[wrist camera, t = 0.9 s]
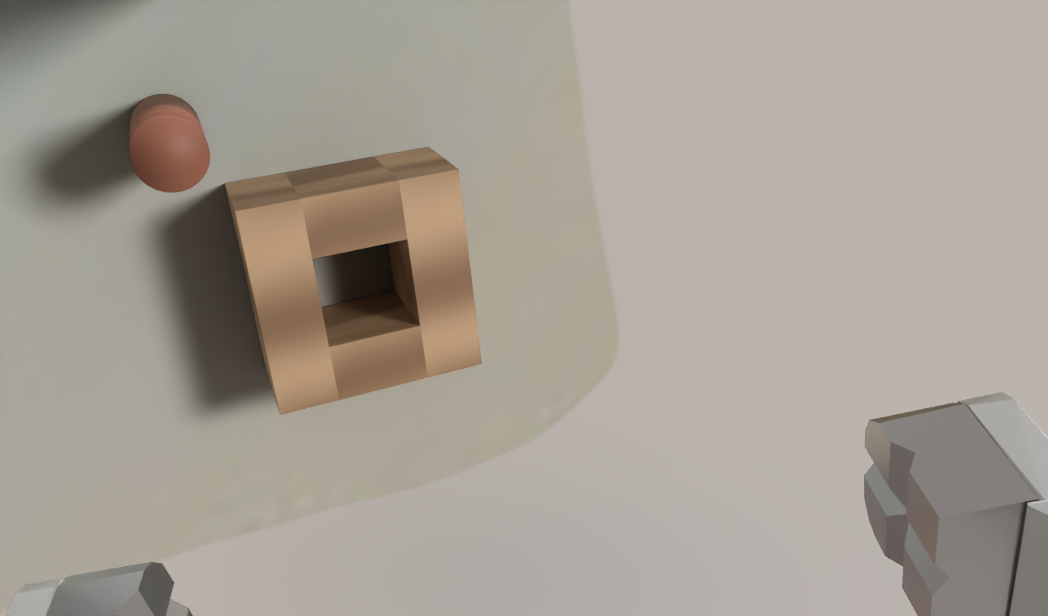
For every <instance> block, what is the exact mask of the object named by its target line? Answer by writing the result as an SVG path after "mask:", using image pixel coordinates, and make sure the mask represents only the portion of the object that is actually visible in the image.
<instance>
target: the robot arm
mask: <svg viewBox="0 0 1048 616" xmlns="http://www.w3.org/2000/svg"><path fill="white" fill-rule="evenodd" d="M865 448H866V449H867V451H868V453H869V455H870V456H871V458H872V460H873V461H874V464H873V465H872V466H871V468H870V469H869V470H868V471H867V473H866V474H865V475H864V498H865V503H866V508H867V513H868V517H869V521H870V524H871V527H872V529H873V532H874V535H875V537H876V539H877V541H878V543H879V545H880V547H881V549H882V551H883V553H884V555H885V556H886V557H888V558H889V559H891V560H893V561H895V562H896V563H898V564H900V565H901V566H903V583H902V588H903V590H904V592H905V593H906V595H907V597H908V599H909V601H910V603H911V604H912V606H913V608H914V610H915V612H916V613H917V615H918V616H1048V438H1047V436H1046V435H1045V434H1044V433H1043V432H1042V431H1041V430H1040V428H1039V427H1038V426H1037V425H1036V424H1035V423H1034V421H1033V420H1032V419H1031V418H1030V417H1029V416H1028V414H1027V413H1026V412H1025V411H1024V410H1023V409H1022V407H1021V406H1020V405H1019V404H1018V403H1017V402H1016V400H1015V399H1014V398H1013V397H1012V396H1010V395H1008V394H1006V393H1004V392H1000V393H995V394H990V395H985V396H981V397H976V398H971V399H967V400H962V401H958V402H957V403H949V404H944V405H939V406H934V407H929V408H924V409H920V410H915V411H910V412H905V413H901V414H895V415H891V416H886V417H881V418H876V419H871V420H869V422H868V425H867V427H866V433H865ZM173 585H174V581H173V580H172V578H171V577H170V575H169V573H168V572H167V570H166V569H165V567H164V565H163V564H162V563H156V562H149V563H143V564H137V565H131V566H125V567H120V568H114V569H108V570H102V571H96V572H91V573H85V574H79V575H73V576H69V577H68V578H62V579H56V580H50V581H44V582H38V583H32V584H26V585H25V586H24V587H23V588H22V589H20V590H19V591H18V592H17V593H16V594H15V595H14V597H13V599H12V601H11V604H10V606H9V608H8V610H7V613H6V615H5V616H193V615H192V613H191V612H190V610H189V608H187V607H185V606H183V605H181V604H179V603H177V602H175V601H173V600H171V599H170V597H171V593H172V589H173Z"/></svg>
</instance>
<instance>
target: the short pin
mask: <svg viewBox="0 0 1048 616" xmlns="http://www.w3.org/2000/svg"><path fill="white" fill-rule="evenodd" d="M129 137H130V161H131V164H132V167H133V169H134V171H135V173H136V174H137V176H138V177H139V178H140V179H141V180H142V181H143V182H144V183H145V184H147V185H148V186H150V187H152V188H154V189H156V190H159V191H163V192H180V191H184V190H187V189H189V188H191V187H193V186H195V185H196V184H197V183H198V182H199V181H200V180H201V179H202V178H203V177H204V175H205V174H206V172H207V169H208V166H209V162H210V152H209V147H208V144H207V141H206V138H205V136H204V133H203V130H202V127H201V124H200V122H199V119H198V116H197V114H196V112H195V111H194V109H193V108H192V107H191V106H190V105H189V104H188V103H187V102H186V101H184V100H183V99H181V98H179V97H177V96H173V95H169V94H156V95H152V96H149V97H147V98H145V99H143V100H142V101H141V102H140V103H138V104H137V106H136V107H135V108H134V110H133V112H132V114H131V117H130V123H129Z"/></svg>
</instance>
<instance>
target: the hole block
mask: <svg viewBox="0 0 1048 616" xmlns="http://www.w3.org/2000/svg"><path fill="white" fill-rule="evenodd" d="M225 187H226V191H227V196H228V200H229V205H230V209H231V214H232V218H233V223H234V227H235V232H236V236H237V241H238V245H239V250H240V254H241V259H242V263H243V268H244V272H245V277H246V281H247V286H248V290H249V294H250V299H251V303H252V308H253V312H254V317H255V321H256V326H257V330H258V335H259V339H260V344H261V348H262V353H263V357H264V362H265V366H266V371H267V374H268V377H269V381H270V384H271V387H272V390H273V394H274V397H275V400H276V403H277V407H278V410H279V413H280V415H281V414H285V413H289V412H293V411H297V410H301V409H305V408H309V407H313V406H317V405H321V404H325V403H329V402H333V401H337V400H341V399H345V398H349V397H353V396H357V395H360V394H364V393H368V392H372V391H376V390H380V389H384V388H388V387H392V386H396V385H400V384H404V383H408V382H412V381H416V380H420V379H424V378H428V377H432V376H436V375H440V374H444V373H447V372H451V371H455V370H459V369H463V368H467V367H471V366H475V365H479V364H482V361H481V353H480V345H479V336H478V328H477V320H476V311H475V303H474V295H473V286H472V278H471V270H470V262H469V253H468V245H467V237H466V228H465V220H464V212H463V203H462V195H461V187H460V179H459V170H458V169H457V168H456V167H455V166H453V165H452V164H451V163H449V162H448V161H447V160H445V159H444V158H443V157H441V156H440V155H439V154H438V153H436V152H435V151H434V150H432V149H431V148H430V147H425V148H419V149H414V150H408V151H403V152H397V153H391V154H386V155H380V156H375V157H369V158H364V159H358V160H352V161H347V162H341V163H336V164H330V165H325V166H319V167H313V168H308V169H302V170H297V171H291V172H286V173H280V174H274V175H269V176H263V177H258V178H252V179H247V180H241V181H235V182H230V183H225ZM387 243H388V249H389V255H390V262H391V268H392V275H393V281H394V287H395V291H392V292H388V293H383V294H379V295H374V296H370V297H365V298H361V299H356V300H352V301H347V302H343V303H338V304H334V305H329V306H325V307H321V302H320V297H319V292H318V287H317V281H316V276H315V271H314V266H313V260H312V259H315V258H320V257H324V256H329V255H334V254H339V253H344V252H348V251H353V250H358V249H363V248H368V247H373V246H377V245H382V244H387Z"/></svg>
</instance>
